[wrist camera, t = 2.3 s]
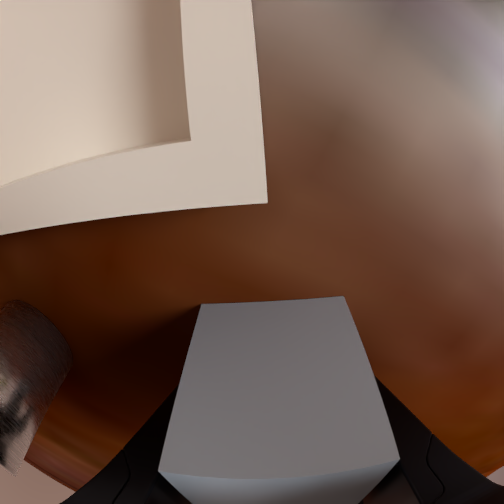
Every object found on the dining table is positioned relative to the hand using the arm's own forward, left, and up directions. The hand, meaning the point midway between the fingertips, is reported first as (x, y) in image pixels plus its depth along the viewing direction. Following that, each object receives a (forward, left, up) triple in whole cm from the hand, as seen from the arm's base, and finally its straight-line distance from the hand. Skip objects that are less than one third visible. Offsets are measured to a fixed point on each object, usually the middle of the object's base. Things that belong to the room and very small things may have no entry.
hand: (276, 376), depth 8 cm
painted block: (0, 0, -1) cm, 1 cm away
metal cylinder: (0, +10, -1) cm, 10 cm away
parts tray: (+11, +8, -1) cm, 14 cm away
